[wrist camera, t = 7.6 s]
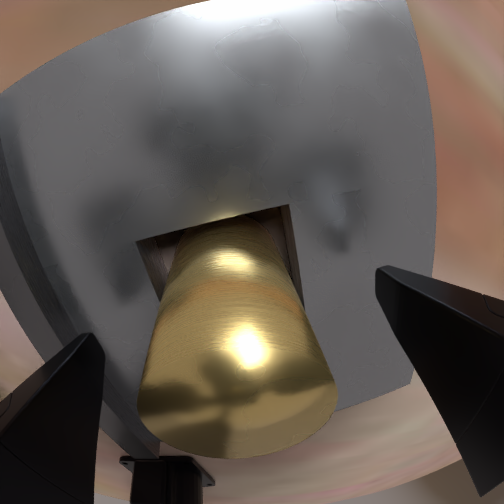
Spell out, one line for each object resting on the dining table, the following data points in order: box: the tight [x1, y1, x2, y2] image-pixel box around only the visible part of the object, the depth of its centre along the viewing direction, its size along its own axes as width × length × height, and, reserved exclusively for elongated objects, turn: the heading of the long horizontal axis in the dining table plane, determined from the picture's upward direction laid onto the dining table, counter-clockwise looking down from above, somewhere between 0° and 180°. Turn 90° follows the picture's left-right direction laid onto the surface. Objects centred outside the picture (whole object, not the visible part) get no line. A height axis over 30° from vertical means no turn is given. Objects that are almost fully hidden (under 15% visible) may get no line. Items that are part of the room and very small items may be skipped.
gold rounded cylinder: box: [137, 214, 338, 459], centre depth 8 cm, size 4×4×7 cm
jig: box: [0, 0, 437, 459], centre depth 10 cm, size 18×16×3 cm
